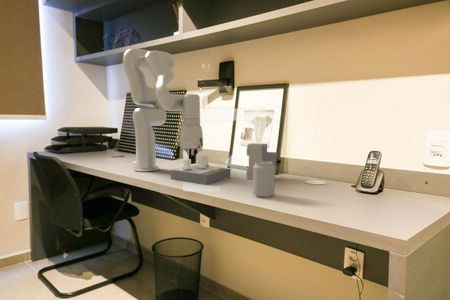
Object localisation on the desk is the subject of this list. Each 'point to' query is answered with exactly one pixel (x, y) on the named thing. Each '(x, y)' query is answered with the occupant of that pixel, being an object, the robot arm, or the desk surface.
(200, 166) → the handle
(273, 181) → the can
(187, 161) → the handle
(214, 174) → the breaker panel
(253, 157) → the circuit breaker
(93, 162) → the desk surface
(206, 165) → the handle
